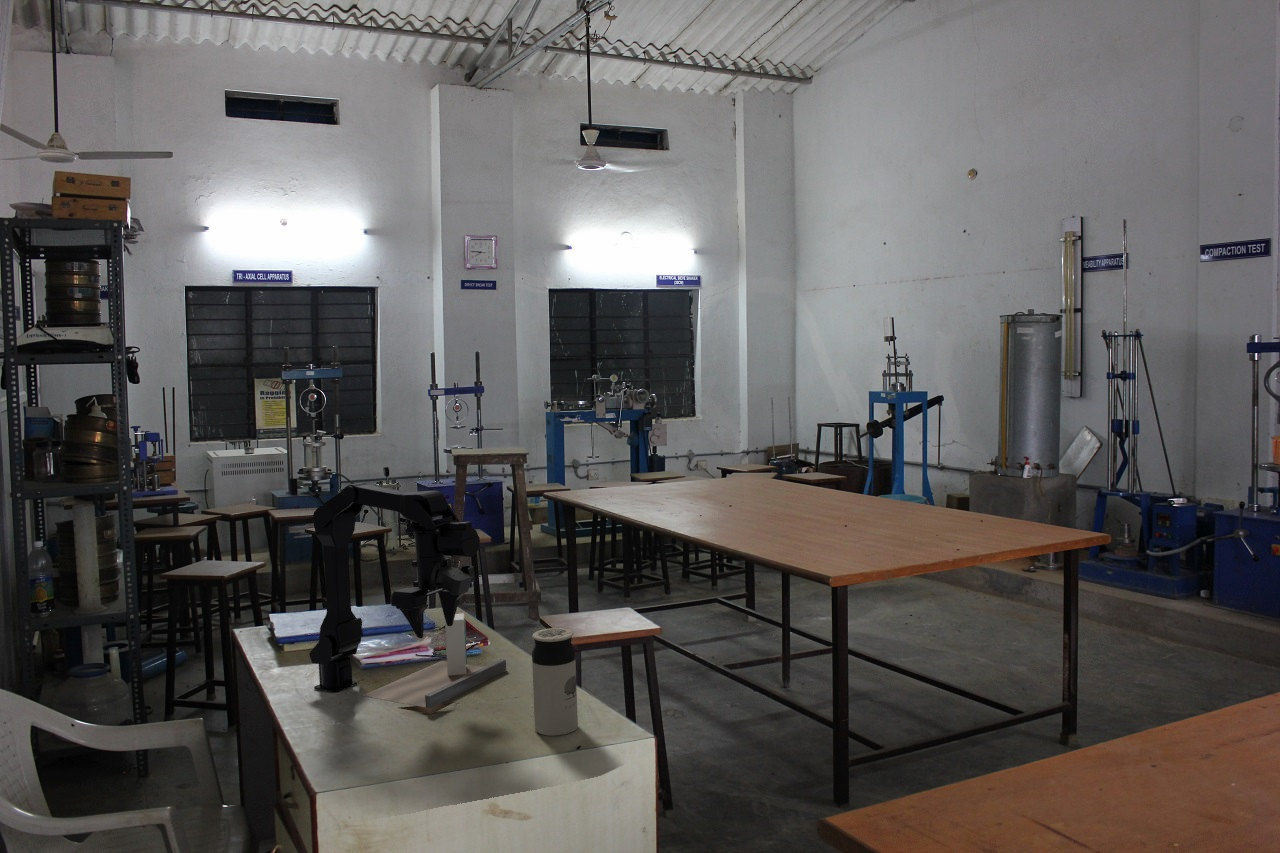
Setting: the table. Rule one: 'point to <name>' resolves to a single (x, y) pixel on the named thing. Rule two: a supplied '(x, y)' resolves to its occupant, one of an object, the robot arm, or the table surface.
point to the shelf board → (435, 686)
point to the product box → (456, 646)
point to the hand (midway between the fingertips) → (435, 631)
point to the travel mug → (554, 682)
